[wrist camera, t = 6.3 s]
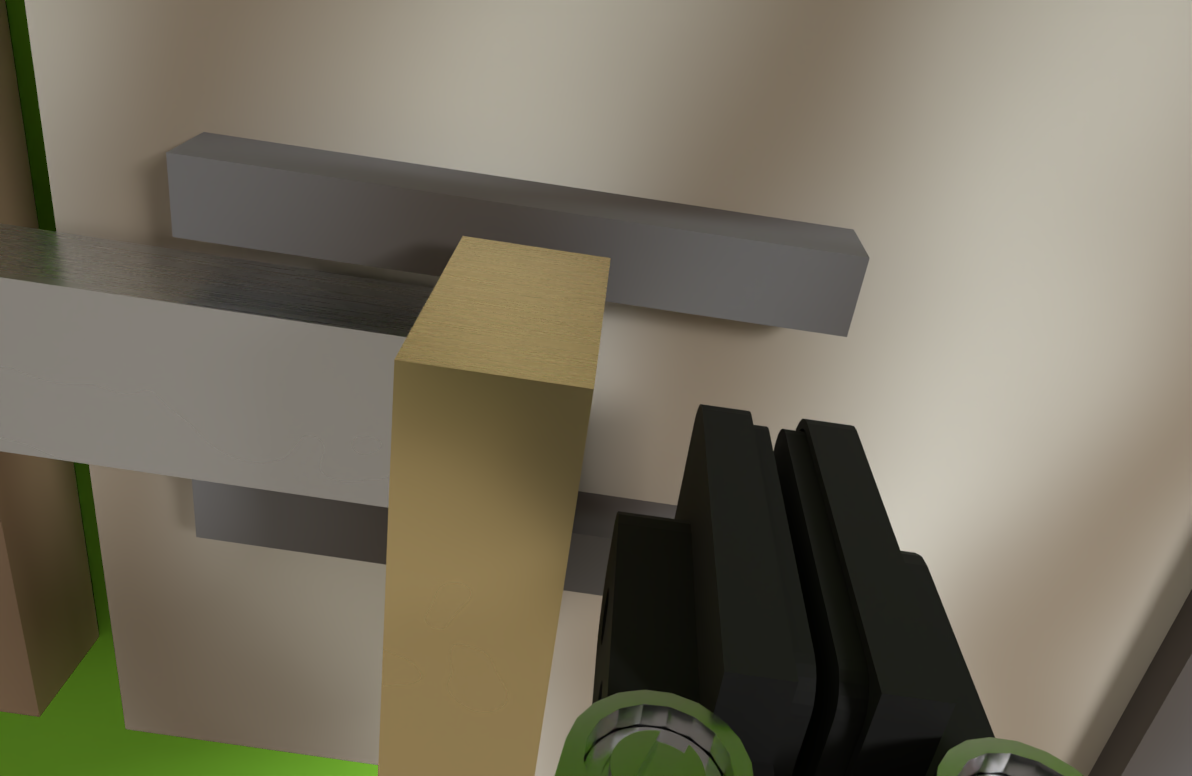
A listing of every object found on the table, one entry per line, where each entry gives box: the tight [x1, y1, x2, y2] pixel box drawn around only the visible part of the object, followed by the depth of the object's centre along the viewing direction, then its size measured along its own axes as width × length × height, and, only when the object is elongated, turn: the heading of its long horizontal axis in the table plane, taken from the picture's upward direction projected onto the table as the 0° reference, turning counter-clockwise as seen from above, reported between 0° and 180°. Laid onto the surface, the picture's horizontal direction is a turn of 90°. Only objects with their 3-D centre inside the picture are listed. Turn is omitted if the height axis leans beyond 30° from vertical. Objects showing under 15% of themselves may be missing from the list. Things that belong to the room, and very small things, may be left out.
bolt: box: [0, 223, 611, 776], centre depth 11 cm, size 10×5×4 cm, turn 82°
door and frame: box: [0, 0, 1192, 776], centre depth 12 cm, size 28×16×5 cm, turn 82°
